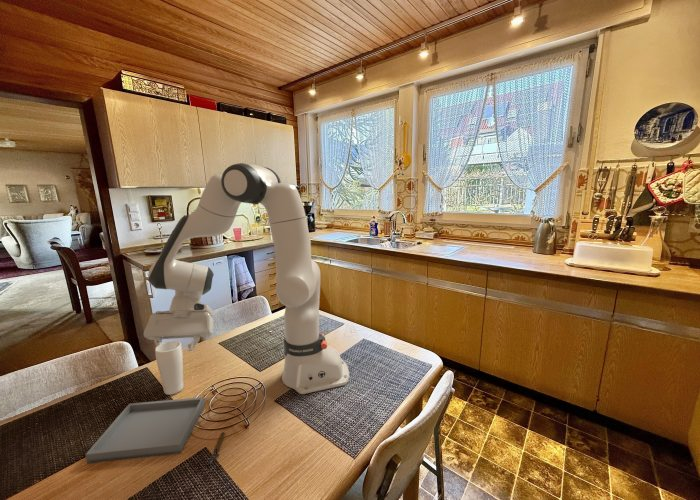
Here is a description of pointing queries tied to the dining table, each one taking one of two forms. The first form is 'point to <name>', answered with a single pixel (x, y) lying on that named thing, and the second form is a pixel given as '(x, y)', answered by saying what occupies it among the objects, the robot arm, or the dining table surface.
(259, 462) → the dining table surface
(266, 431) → the dining table surface
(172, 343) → the drinking glass
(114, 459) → the tray
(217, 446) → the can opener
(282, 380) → the robot arm
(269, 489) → the dining table surface
